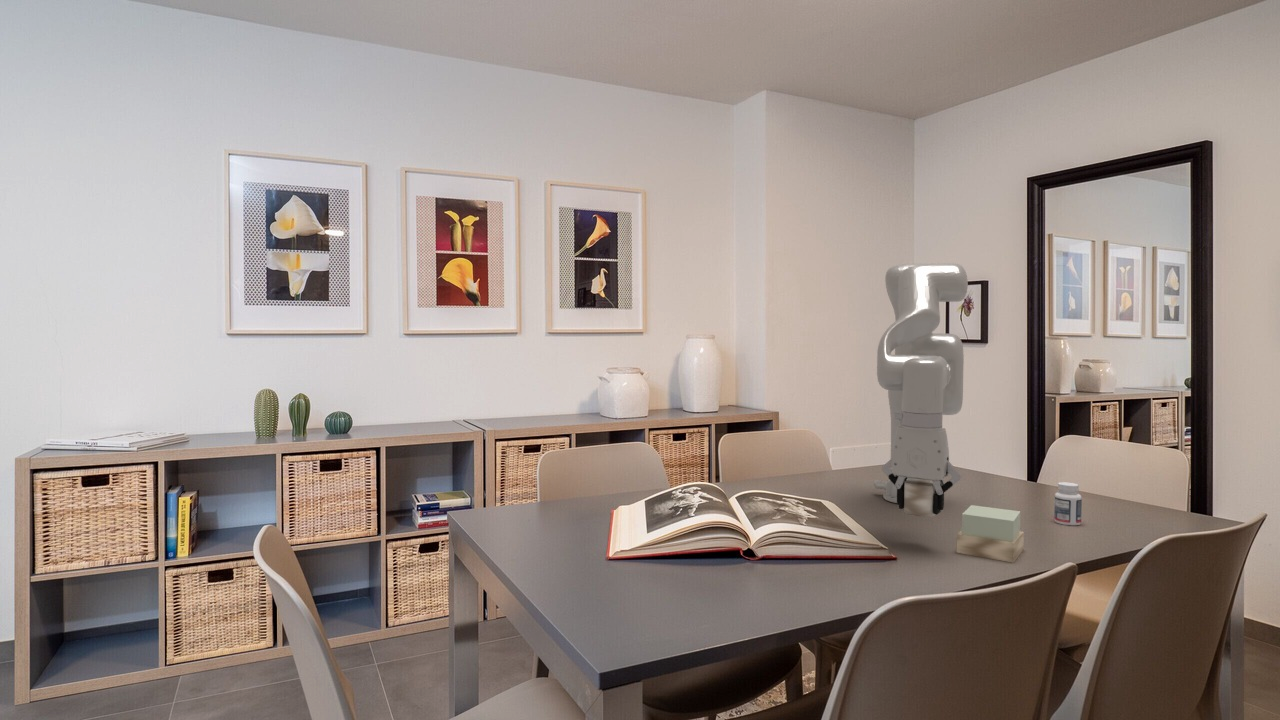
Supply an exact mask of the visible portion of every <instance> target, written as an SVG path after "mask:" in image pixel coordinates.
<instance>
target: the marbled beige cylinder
mask: <svg viewBox="0 0 1280 720" xmlns="http://www.w3.org/2000/svg"><path fill="white" fill-rule="evenodd" d="M935 492H936V490H935V487H934V484H933V482H932V481H926V480H907V481H905V482H904V508H903V513H904V514H906V515H908V516H912V517H913V516H914V517H920V518H931V517H934V516H936V514H934V513H933V495H934V494H935Z"/></svg>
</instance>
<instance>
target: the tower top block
mask: <svg viewBox="0 0 1280 720" xmlns="http://www.w3.org/2000/svg"><path fill="white" fill-rule="evenodd" d="M961 530H962V534H963V535H969V536H976V537H982V538H989V539H995V540H1002V541H1009V542H1014V540H1015V539H1016V537H1017V535H1018V534H1019V532H1020V531H1021V511H1020V510H1019V511H1018V510H1013V509H1012V510H1011V509H1005V508H997V507H989V506H980V505H974V504H971V505H970V506H969V507H968V508H966V509H965V511H964V512H962V514H961Z"/></svg>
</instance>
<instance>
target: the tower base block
mask: <svg viewBox="0 0 1280 720" xmlns="http://www.w3.org/2000/svg"><path fill="white" fill-rule="evenodd" d="M1024 539H1025V533H1024V531H1021V530H1020V532H1019V534H1018V535H1017V537H1016V539H1015V540H1014V542H1009V541H1002V540H995V539H989V538H982V537H976V536H969V535H963V534H962V529H961V530H960V531H959V532H958V533H956V553H957V554H963V555H968V556H975V557H980V558H986V559H991V560H995V561H996V560H997V561H1003V562H1008V563H1015V561H1016V560H1017V558H1018V557H1020V555H1021V554H1022V552H1023V551H1024V547H1025V546H1024V544H1025V541H1024Z"/></svg>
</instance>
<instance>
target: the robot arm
mask: <svg viewBox="0 0 1280 720" xmlns="http://www.w3.org/2000/svg"><path fill="white" fill-rule="evenodd" d="M968 280H969V279H968V275H967V273H966V270H965V268H964V267H963V265H962V264H959V263H952V262H951V263H948V262H947V263H946V262H945V263H906V264H905V263H904V264H898V265H893V266H891V267H889V268H888V269H887V270H886V273H885V280H884V282H885V288H886V293H887V295H888V298H889V301H890V303H891V305H892V309H893V312H894V316H895V319H894V321H893V323H892V324H890V326H889V327H887V328H886V330H885V332H883V334H882V336H881V338H880V340H879V342H878V346H877V350H876V351H877V356H876V364H877V365H876V376H877V382H878V384H879V386H880V387H881V388H883V389H884V390H886V391H887V395H888V396H887V397H888V405H889V411H890V459H889V460H888V461H887V462H886V463H885V464H884V465H882V467H881V468H880V469H881V471H882V472H883V473H884V474H885V476H886V477H888V479H887V480H886V481H883V480H880V479H875V480H874V482H873V486H874V488H875V489H879V490H884V491H885V492H884V493H883V494H882V495H883V497H882V498H883V499H884V500H885V501H888V502H891V503H893V504H898V509H900V510H904V482H905V481H907V480H926V481H931V482H933V484H934V487H935V490H936V492H935V494H934V495H933V513H934V514H936V515H939V513H941V512H942V511H943V510H944V507H945V504H944V503H945V493H946V492H947V491H948V490H950V488H952V487H954V486H955V485H956V484H957V483H958V482H960V481H961V480H963V475H961V473H960V472H959V471H958V470H957V468H955V466H953V465H952V463H951V461H950V451H949V441H948V436H947V430H946V428H944V427H943V416H954V415H957V414H959V413H960V411H961V410H962V407H963V400H964V399H963V398H964V363H965V362H964V359H965V358H964V357H965V354H964V346H963V342H962V339H961V338H960V337H959V336H958V335H957V334H955V333H954V334H952V333H944V332H943V333H935V332H934V331H935V330H937V328H938V327H939V325H940V322H941V314H940V313H941V311H940V303H942V302H943V303H948V302H951V303H953V302H954V303H955V302H962V301H963V300H964V299H965V297H966V296H967V292H968V287H969V285H968V283H969V282H968ZM893 351H894V354H891V353H892V352H893ZM949 475H950V477H951V478H950V479H949V480H948V481H946V482H944V478H946V477H948V476H949ZM936 515H935V516H936Z"/></svg>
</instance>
